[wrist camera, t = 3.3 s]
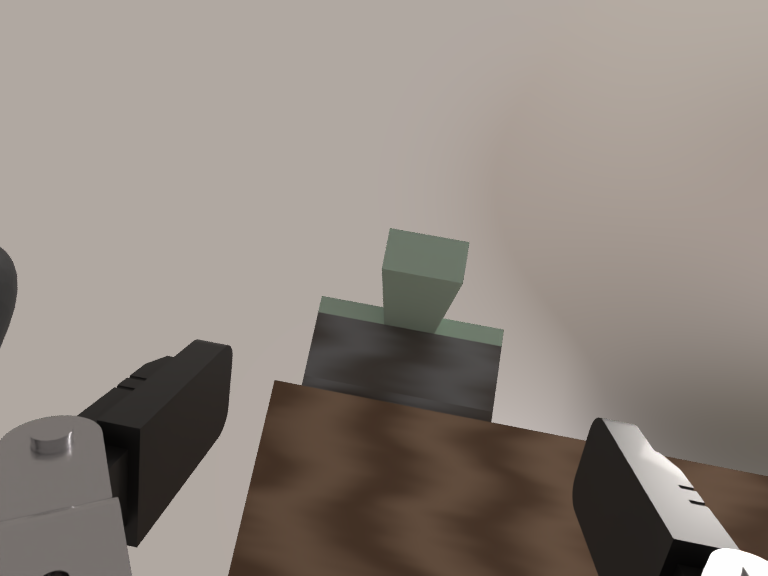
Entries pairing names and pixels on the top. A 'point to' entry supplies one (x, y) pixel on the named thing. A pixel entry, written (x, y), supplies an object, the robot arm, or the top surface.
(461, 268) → the green t-shaped block
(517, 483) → the cabinet
